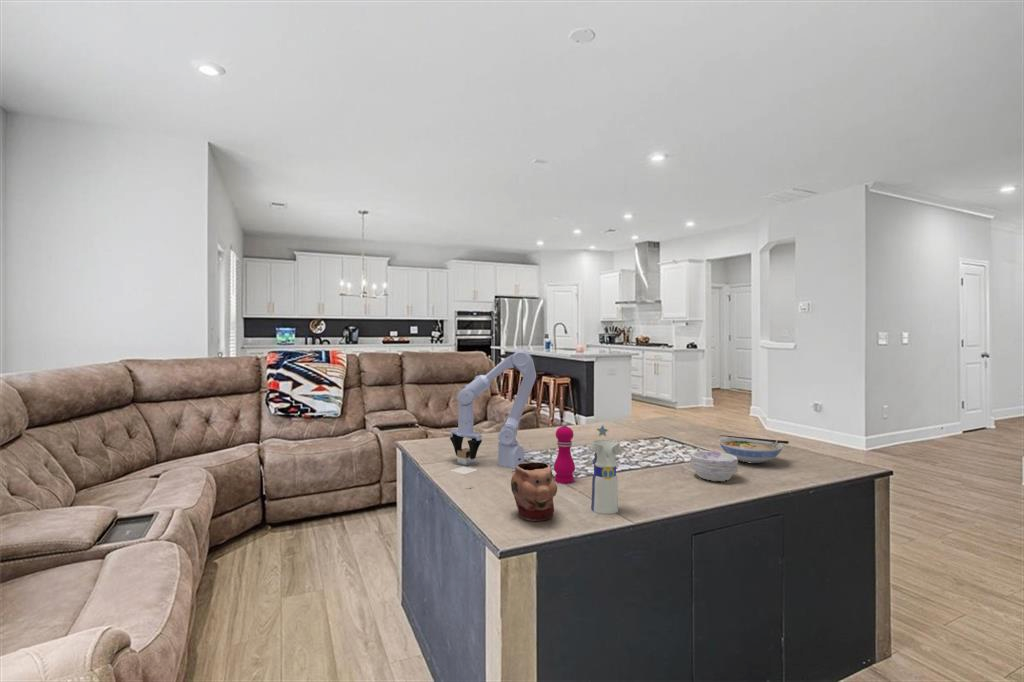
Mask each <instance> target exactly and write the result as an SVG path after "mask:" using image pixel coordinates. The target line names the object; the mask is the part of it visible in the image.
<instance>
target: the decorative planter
mask: <svg viewBox="0 0 1024 682" xmlns="http://www.w3.org/2000/svg"><path fill="white" fill-rule="evenodd" d="M510 488H511V489H510V490H511V493H512V494H513V498H514V501H515V503H516V507H517V510H518V515H519V516H520V517H521V518H522V519H523V520H527V521H532V522H533V521H534V522H535V521H536V522H537V521H545V520H550V519H551V518H552V517H553V516H554V512H555V506H554V497H555V496H556V495H557V493H558V485H557V483H556V481H555V476H554V475H553V471H552V467H551V465H549V464H548V463H545V462H542V461H540V462H539V461H536V462H535V461H532V462H531V461H530V462H524V463H521V464H518V465H517V466H516V468H515V470H514V473H513V475H512V476H511V480H510Z"/></svg>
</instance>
